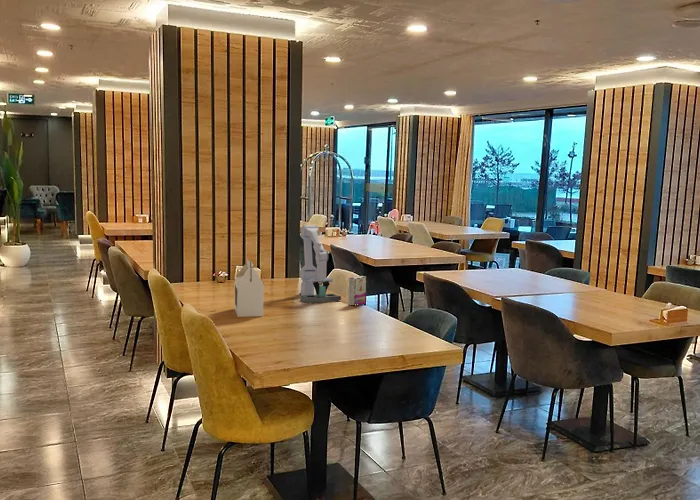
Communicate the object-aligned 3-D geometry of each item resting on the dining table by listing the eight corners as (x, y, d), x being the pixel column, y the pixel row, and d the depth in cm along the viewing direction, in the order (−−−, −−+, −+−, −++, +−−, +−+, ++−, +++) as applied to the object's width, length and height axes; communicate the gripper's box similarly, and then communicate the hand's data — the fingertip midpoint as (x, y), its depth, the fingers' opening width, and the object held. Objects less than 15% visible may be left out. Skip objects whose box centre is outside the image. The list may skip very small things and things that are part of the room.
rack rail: (300, 300, 378) (300, 295, 378) (333, 298, 389) (333, 293, 389) (307, 303, 370) (307, 298, 369) (340, 301, 380) (340, 296, 380)
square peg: (316, 297, 380) (316, 285, 379) (322, 296, 382) (322, 285, 381) (319, 298, 376) (319, 286, 376) (325, 298, 378) (325, 286, 378)
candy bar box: (359, 302, 377) (360, 275, 375) (365, 304, 374) (366, 276, 372) (347, 305, 368) (348, 277, 366) (354, 306, 365) (355, 278, 363)
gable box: (263, 316, 329) (264, 263, 326) (237, 317, 326) (238, 263, 323) (258, 308, 350) (259, 258, 348) (234, 308, 347) (235, 258, 344)
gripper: (313, 273, 371) (312, 295, 372) (335, 272, 377) (334, 294, 379) (308, 271, 377) (307, 294, 378) (330, 270, 384) (329, 292, 385)
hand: (320, 294), depth 379 cm, fingers closed on square peg, 4 cm apart
